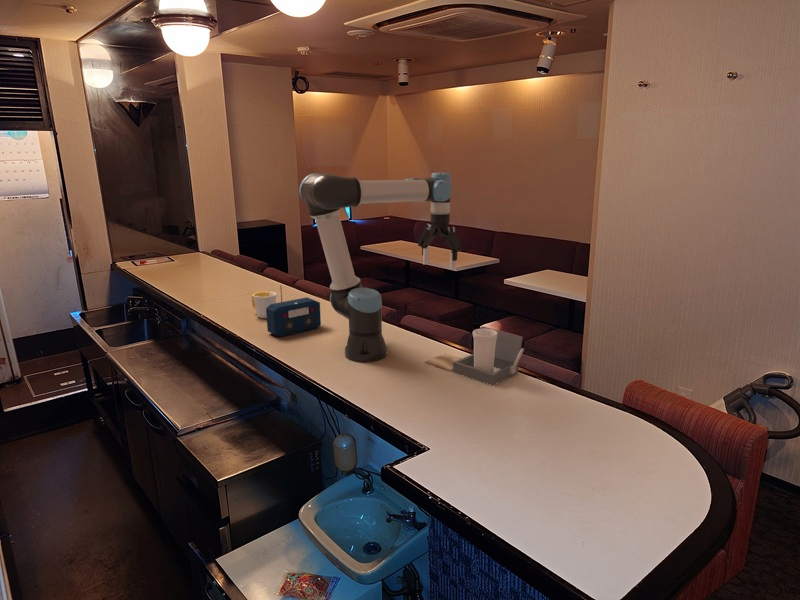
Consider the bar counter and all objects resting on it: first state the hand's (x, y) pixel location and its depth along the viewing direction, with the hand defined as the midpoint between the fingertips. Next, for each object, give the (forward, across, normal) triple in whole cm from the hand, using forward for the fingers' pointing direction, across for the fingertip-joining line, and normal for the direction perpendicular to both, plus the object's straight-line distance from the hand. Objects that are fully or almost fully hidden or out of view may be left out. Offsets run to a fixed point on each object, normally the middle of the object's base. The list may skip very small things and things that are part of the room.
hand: (438, 266), depth 219 cm
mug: (+27, +70, +37) cm, 83 cm away
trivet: (+26, -26, +28) cm, 47 cm away
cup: (+27, -41, +27) cm, 56 cm away
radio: (+27, +42, +41) cm, 64 cm away
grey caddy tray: (+26, -42, +25) cm, 55 cm away
